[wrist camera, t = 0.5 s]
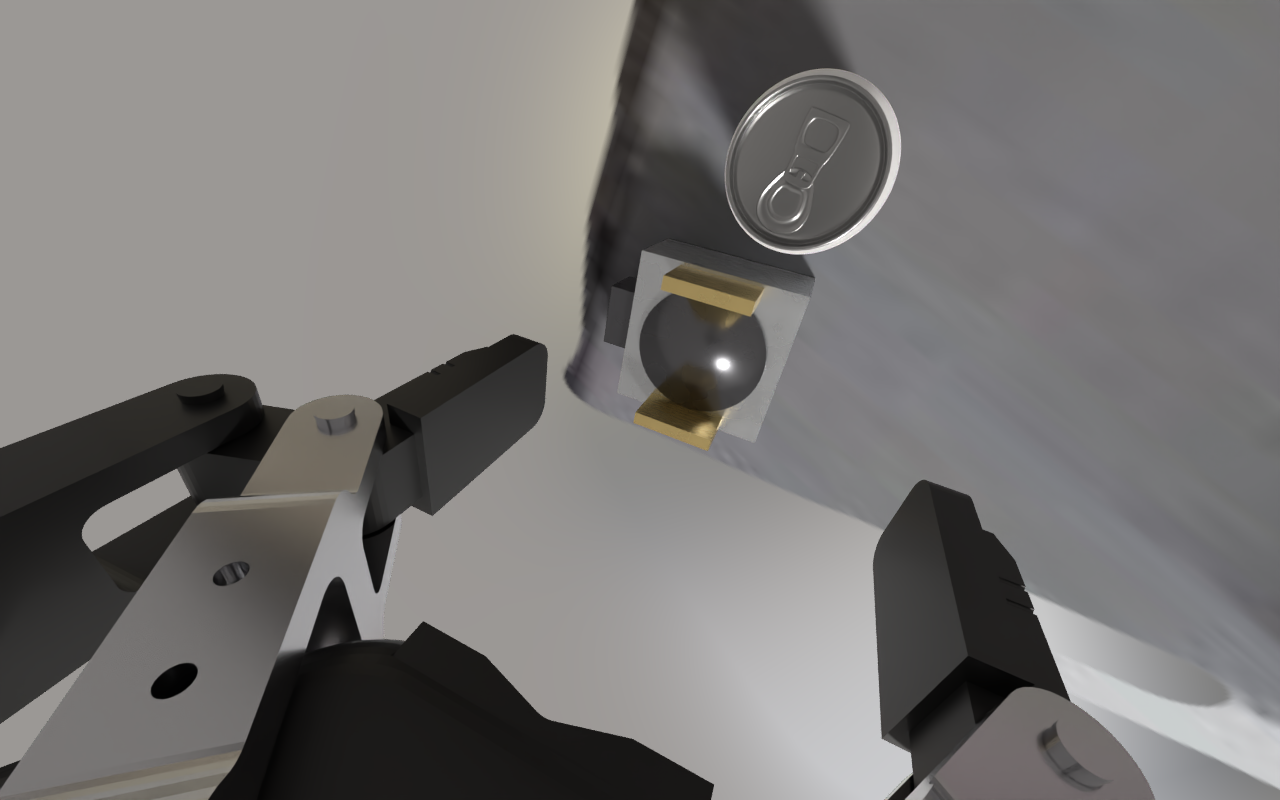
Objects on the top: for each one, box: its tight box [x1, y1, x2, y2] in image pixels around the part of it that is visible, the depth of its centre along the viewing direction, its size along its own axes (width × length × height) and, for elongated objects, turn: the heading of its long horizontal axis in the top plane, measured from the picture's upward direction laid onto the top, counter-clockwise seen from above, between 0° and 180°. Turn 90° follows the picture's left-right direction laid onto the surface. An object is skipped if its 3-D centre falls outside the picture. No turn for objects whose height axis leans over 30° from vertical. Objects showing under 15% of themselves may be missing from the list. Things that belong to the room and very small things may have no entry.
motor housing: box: [604, 239, 815, 451], centre depth 30 cm, size 10×12×8 cm
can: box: [725, 68, 901, 254], centre depth 21 cm, size 6×6×12 cm
